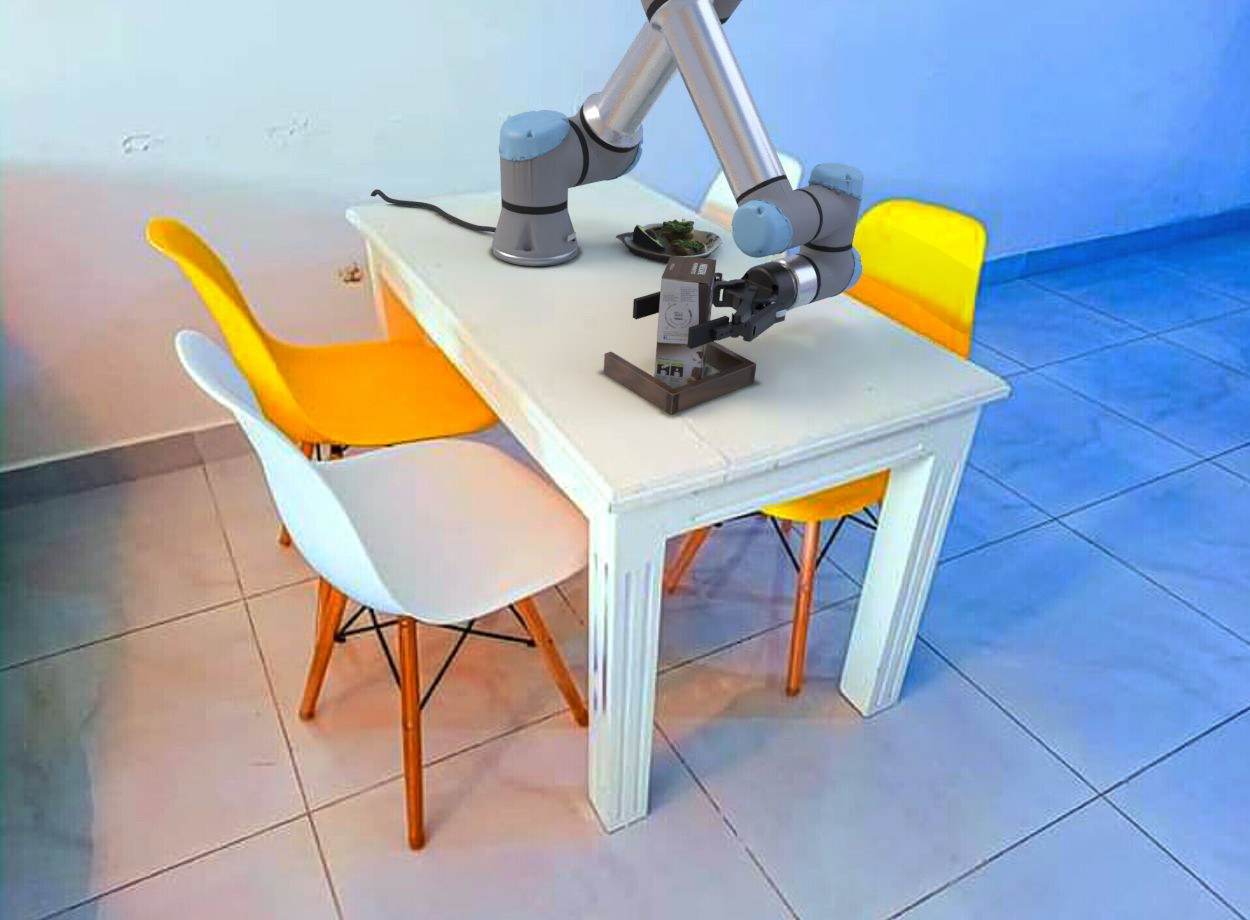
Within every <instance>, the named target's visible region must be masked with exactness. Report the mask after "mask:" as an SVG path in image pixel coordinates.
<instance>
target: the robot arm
mask: <svg viewBox="0 0 1250 920" xmlns="http://www.w3.org/2000/svg"><path fill="white" fill-rule="evenodd" d="M742 1H743V0H640V3H641V6H642V8H643V12H644V14H645V16H646V20H645V21H644V23H643V25H642V26H641V28H640V30H639V31H638V33H637V34H636V36H635V38H634V39H633V41H632V42H631V44H630V46H629V47H628V48H627V50H626V52H625V53H624V55H623V56H622V58H621V60H620V61H619V63H618V65H617V66H616V67H615V69H614V71H613V72H612V74H611V76H610V77H609V79H608V80H607V81H606V83H605V85H604V87H603V88H602V90H601V91H596V92H593V93H591V94H589V95H588V96H587V97H586V99H585V100H584V102H583V103H582V105H581V106H580V108H579V109H578V111H577V112H576V114H574V115H573V116H569V117H567V115H566V114H564V113H562V112H561V111H557V110H550V109H540V110H538V111H537V110H529V111H524V112H520V113H517V114H514V115H512V116H510V117H509V118H507V119H506V120H505V121H504V122H503V123H502V124H501V127H500V129H499V130H500V131H499V144H498V154H499V165H500V168H499V169H500V197H501V198H500V199H501V202H500V203H501V208H500V209H501V210H500V213H499V216H498V221H497V223H496V227H495V226H487V225H478V224H474V223H472V222H468V221H465V220H462V219H460V218H458V217H456V216H454V215H451V214H450V213H447V212H446V211H445V210H443V209H442V208H441V207H439V206H437V205H434V204H432V203H428V202H423V201H415V200H402V199H397V198H396V199H395V198H391V197H389V196H387V195H386V194H385V193H384V192H383V191H382V190H381V189H378V188H377V189H374V190H372V192H371V193H370V197H376V196H377V195H378V196H379V197H380V198H381V199H382V200H383V201H385V202H386V203H388V204H391V205H395V206H396V205H397V206H398V205H399V206H407V207H417V208H423V209H428V210H432V211H434V212H436V213H437V214H438V215H440V216H441V217H442V218H445V219H446V220H448V221H451V222H452V223H454V224H457V225H459V226H461V227H464V228H467V229H470V230H473V231H478V232H488V233H494V234H493V237H492V242H491V243H492V245H491V246H492V253H493V255H494V256H495V257H496V258H497V259H499V260H501V261H503V262H506V263H509V264H513V265H517V266H526V267H548V266H554V265H560V264H564V263H567V262H568V261H572V259H574V258H575V257H576V256H577V254H578V238H577V231H575V229H574V225H573V222H572V219H571V216H570V213H569V189H571V188H576V187H580V186H585V185H590V184H594V183H599V182H604V181H614V180H617V179H618V178H620V177H622V176H625V175H627V174H630V173H631V171H633V170H634V169H635V168H636V166H637V165H638V163H639V162H640V160H641V157H642V154H643V147H642V145H643V144H644V125H643V123H644V122H645V119H647V116H648V115H649V114H650V113H651V111H652V110H653V108H654V107H655V105H656V104H657V103H658V101H659V100H660V98H661V97H662V96H663V95H664V93H665V91H666V90H667V88H668V87H669V86H670V84H671V83H672V82H673V80H674V78H675V77H676V76H677V74H678V73H679V75H680V77H681V78H682V79H681V80H682V82H683V84H684V86H685V88H686V90H687V93H688V96H689V98H690V100H691V102H692V104H693V106H694V109H695V111H696V113H697V116H698V118H699V120H700V123H701V125H702V127H703V130H704V131H705V134H706V136H707V139H708V141H709V143H710V145H711V147H712V150H713V152H714V154H715V158H716V159H717V161H718V163H719V166H720V168H721V170H722V173H723V175H724V177H725V179H726V182H727V184H728V187H729V189H730V191H731V193H732V196H733V198H734V200H735V203H736V205H737V209H736V210H735V212H734V213H733V216H732V219H731V227H732V228H731V229H732V233H731V237H732V239H733V242H734V244H735V245H736V247H737V248H738V249H739V251H740V252H741V253H743V254H744V255H746V256H749V257H750V258H755V259H757V258H765V257H769V256H776V255H781V254H783V253H785V252H786V251H789V250H791V249H794V248H797V247H799V252H798V253H795V254H791V255H788V256H785V257H781V258H778V259H774V260H771V261H767V262H764V263H762V264H756V265H754V266H752V267H750V268H748V270H746V271H745V273H744V274H743V275H742V277H741V278H735V279H730V280H725V279H723V275H724V274H723V273H722V272H718V271H717V272H715V278H714V288H713V298H712V306H713V307H715V308H731V309H733V310H734V312H732V313H731V321H730V317H729V316H727V315H723V316H720V317H717V318H714V319H710V321H707V322H704V323H701V324H698V325H695V326H692V327H689V332H688V344H687V347H688V348H690V349H693V348H696V347H699V346H701V345H704V344H707V343H710V342H713V341H714V342H716V341H722V340H725V339H728V338H734V339H737V338H739V337H742V340H743V341H744V342H748V343H749V342H752V341H753V340H755V339H756V338H758V337H760V336H761V334H764V332H765V331H767V330H768V329H770V328H772V326H773V325H775V324H779V323H781V322H784V321H785V320H786V314H787V312H789V311H791V310H794V309H798V308H800V307H802V306H803V307H804V306H807V305H810V304H813V303H815V302H819V301H823V300H825V299H828V298H834V297H837V296H839V295H841V294H842V293H845V292H847V291H849V290H851V289H853V288H854V287H856V285H857V284H858V282H859V281H860V279H861V277H862V274H863V264H862V261H861V260H862V259H861V257H862V256H861V254H860V252H859V251H858V249H857V248H856V247H855V246H854V245H853V243H854V238H855V233H856V229H857V228H856V227H857V223H858V218H859V213H860V209H861V203H862V201H863V196H862V195H863V187H864V174H863V172H862V171H861V169H860V168H858V167H856V166H853V165H850V164H845V163H839V162H823V163H819V164H816V165H814V167H813V168H812V170H810V171H811V172H810V176H809V179H808V180H807V183H808V185H807V186H803V187H800V188H796V189H793V186H792V185H791V183H790V180H789V179H788V175H787V173H786V171H785V169H784V166H783V164H782V162H781V160H780V157H779V156H778V153H777V150H776V148H775V146H774V144H773V141H772V139H771V137H770V134H769V132H768V129H767V126H766V125H765V122H764V120H763V118H762V115H761V114H760V111H759V109H758V106H757V104H756V102H755V99H754V96H753V95H752V92H751V90H750V88H749V86H748V83H747V81H746V79H745V77H744V74H743V71H742V69H741V66H740V64H739V62H738V60H737V58H736V55H735V52H734V50H733V48H732V45H731V44H730V41H729V38H728V35H727V34H726V32H725V30H724V27H723V25H725V24H726V23H727V22H728V21H729V20H730V18H731V16H732V15H733V14H734V13H735V11H736V9H737V8H738V7H739V6H740V4H741V3H742ZM660 291H661V290H660ZM660 291H655V292H653V293H650V294H646V295H643V296H639V297H636V298H633V301H632V302H633V303H632V319H634V320H639V319H643V318H646V317H649V316H653V315H656V314H659V304H660ZM721 292H722V295H721Z"/></svg>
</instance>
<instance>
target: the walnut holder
mask: <svg viewBox="0 0 1250 920" xmlns="http://www.w3.org/2000/svg"><path fill="white" fill-rule="evenodd" d="M603 356H604V357H603V374H605V375H606V376H608V377H609V378H611V379H613V380H614V381H616V382H618V383H619V384H621V385H622V386H624V387H625V388H627V389H629V390H630V391H632V392H634V393H635V394H637V395H638V396H640V397H642V398H643V399H645V400H647V401H648V402H649V403H651V404H653V405H655V406H656V407H657V408H659V409H661V410H662V411H664V412H666V413H667V414H669V415H671V416H672V415H674V414H677V413H679V412H682V411H685V410H687V409H691V408H693V407H695V406H698V405H700V404H704V403H705V402H708V401H710V400H714V399H716V398H719V397H721V396H724V395H726V394H729V393H731V392H733V391H736V390H739V389H742V388H744V387H747V386H749V385H752V384H755V378H756V371H757V363H756V362H754V361H753V360H750V359H748V358H747V357H745V356H743V355H741V354H739V353H737V352H735V351H733V350H731V349H730V348H727V347H725V345H722V344H720V343H718V342H716V341H713V342H710V343H708V350H707V360H706V364H707V363H708V364H709V365H711V366H713V367H714V368H716V369H718V370H720V371H718V372H716V373H713V374H710V375H708V376H705V377H703V378H702V379H699V380H696V381H694V382H691V383H688V384H685V385H683V386H680V387H677V388H675V389H673V388H672V387H670V386H668V385H667V384H665V383H663V382H661V381H660V380H658V379H656V378H655V377H654V375H652V374H649V373H648V372H647V371H644V369H641V368H640V367H638V366H637V365H635V364H633V363H631V362H629V361H628V360H627V359H625V358H623V357H621V356H619V355H618V354H616V353H615V352H613V351H608V352H605V353H604V354H603Z"/></svg>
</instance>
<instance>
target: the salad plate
mask: <svg viewBox="0 0 1250 920" xmlns="http://www.w3.org/2000/svg"><path fill="white" fill-rule="evenodd" d="M694 226H695V222H694V221H693V220H686V219H685V218H682V219H681V221H679V220H677V219H673V220H668V221H663V222H662V223H659V222H658V223H648V224H645V225H644V226H642V225H639V224H636V225H635V226H634V228H633V231H630V232H629V231H627V232H623V233H619V234H617V235H616V236H615V239H617V240H619V241H621V242H622V243H623V244H624V246H625V248H627V250H628V251H629V252H630V254H631V255H633V256H636V257H639V258H642V259H645V260H649V261H652V262H656V263H662V264H666V265H667V263H668V261H669V259H670V257H671V256H679V257H695V258H706V259H709V257H711V255H712V254H713V253H715V252H716V251H717V250H718V249H719V247H720V246H721V245H722V244H723V238H722V237H721V236H720V235H718V234H717V233H714V232H712V231H706V230H699V229H695V228H694Z"/></svg>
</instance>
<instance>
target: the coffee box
mask: <svg viewBox="0 0 1250 920" xmlns="http://www.w3.org/2000/svg"><path fill="white" fill-rule="evenodd" d="M716 266H717V259H713V258H695V257H679V256H671V257H670V259H669V261H668V263H667V264H666V266H665V268H664V270H663V273H662V275H661V278H660V304H659V313H658V320H657V333H656V347H655V358H654V359H655V362H654V375H653V377H655V378H656V379H658V380H660V381H661V382H663V383H665V384H667V385H668V386H670V387H672V388H673V389H675V388H677V387H680V386H683V385H685V384H688V383H691V382H694V381H696V380H699V379H702V378H704V375H705V371H706V368H707V362H706V360H707V350H708V343H707V344H704V345H701V346H699V347H696V348H693V349H690V348H688V347H687V344H688V332H689V327H692V326H695V325H698V324H701V323H704V322H707V321H710V320H712V319H711V318H712V309H713V308H712V307H713V304H712V298H713V288H714V278H715V273H716V268H717V267H716Z"/></svg>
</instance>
